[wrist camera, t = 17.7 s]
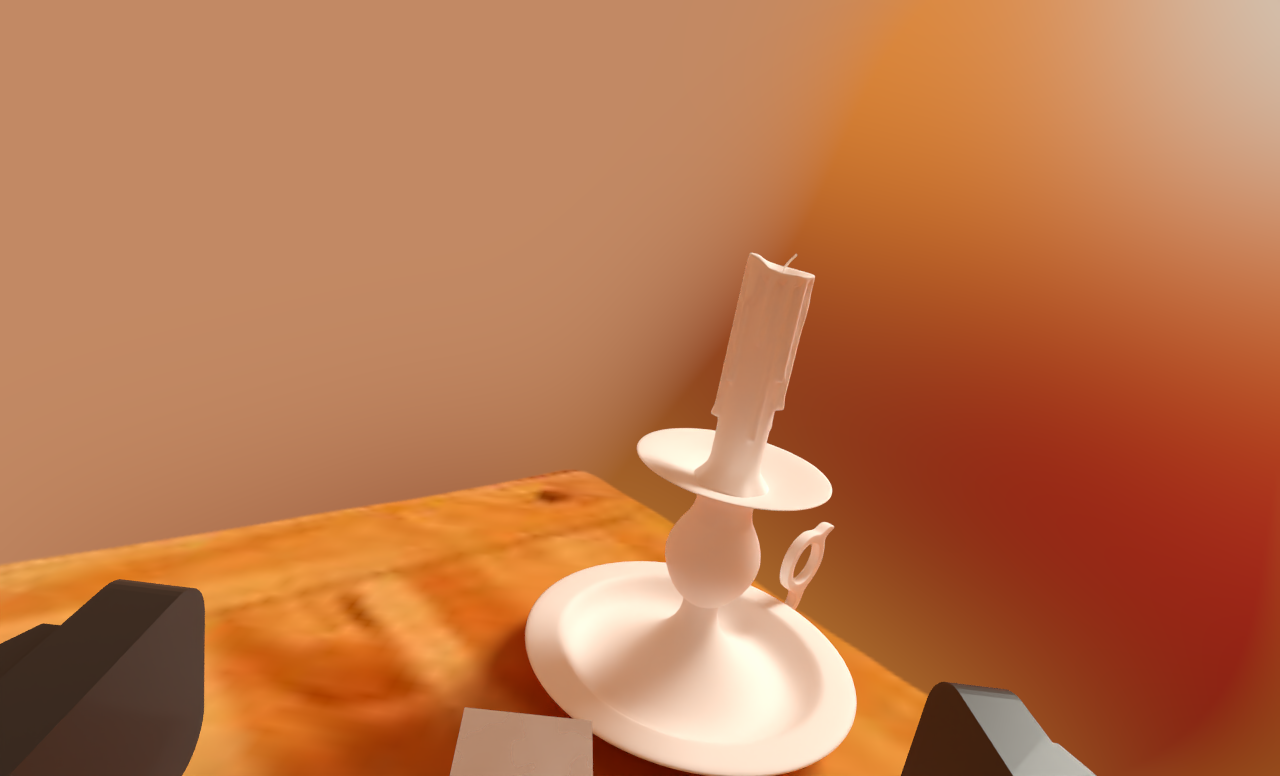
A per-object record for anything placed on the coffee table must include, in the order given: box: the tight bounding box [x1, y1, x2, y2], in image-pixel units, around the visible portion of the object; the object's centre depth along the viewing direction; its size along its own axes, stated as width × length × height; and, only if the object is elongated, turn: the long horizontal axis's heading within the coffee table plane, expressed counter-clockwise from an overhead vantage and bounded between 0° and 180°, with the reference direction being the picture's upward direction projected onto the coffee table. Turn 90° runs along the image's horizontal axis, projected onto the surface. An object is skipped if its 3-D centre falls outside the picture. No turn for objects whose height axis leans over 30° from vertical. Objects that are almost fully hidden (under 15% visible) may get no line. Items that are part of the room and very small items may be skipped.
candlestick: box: [525, 253, 856, 776], centre depth 46 cm, size 21×25×28 cm
